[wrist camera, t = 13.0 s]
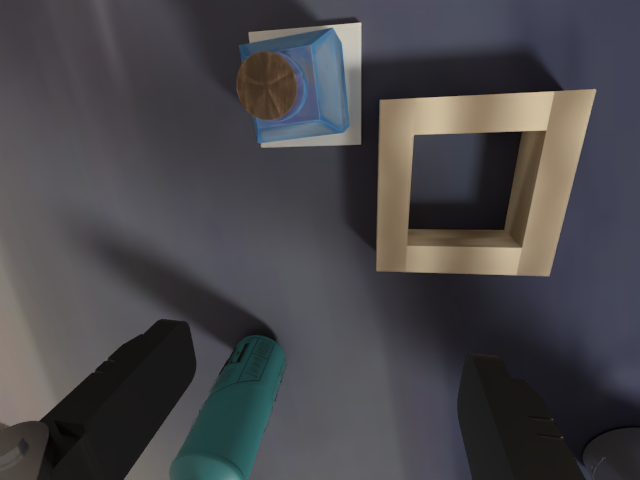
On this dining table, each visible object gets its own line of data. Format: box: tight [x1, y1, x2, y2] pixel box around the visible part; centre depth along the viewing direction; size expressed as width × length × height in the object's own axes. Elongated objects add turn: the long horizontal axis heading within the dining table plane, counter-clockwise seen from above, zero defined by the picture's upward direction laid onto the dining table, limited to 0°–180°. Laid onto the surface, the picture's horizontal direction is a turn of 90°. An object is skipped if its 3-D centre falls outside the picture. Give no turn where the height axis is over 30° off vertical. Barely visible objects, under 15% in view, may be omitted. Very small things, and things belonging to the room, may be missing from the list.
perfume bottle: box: [236, 28, 350, 143], centre depth 22 cm, size 6×6×12 cm
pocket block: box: [376, 89, 596, 276], centre depth 27 cm, size 14×14×4 cm
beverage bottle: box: [169, 335, 286, 480], centre depth 31 cm, size 6×7×20 cm
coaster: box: [248, 23, 362, 148], centre depth 28 cm, size 9×9×1 cm
